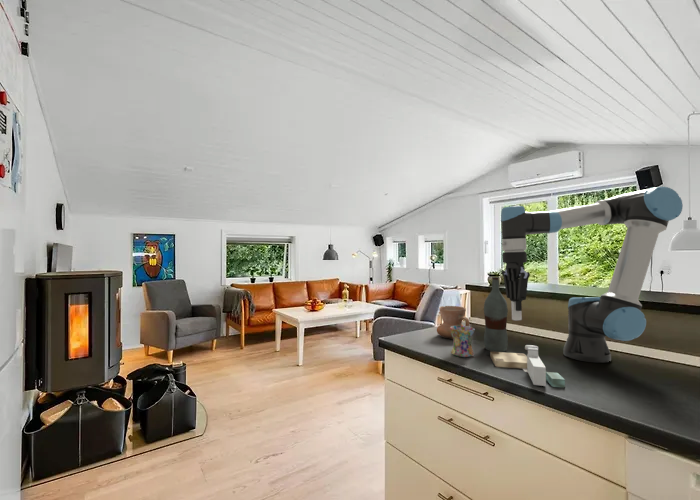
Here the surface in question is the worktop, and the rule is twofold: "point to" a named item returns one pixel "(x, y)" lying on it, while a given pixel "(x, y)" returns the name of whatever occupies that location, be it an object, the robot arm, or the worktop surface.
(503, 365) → the stool seat
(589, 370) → the worktop surface
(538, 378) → the hinged leg
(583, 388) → the worktop surface
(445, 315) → the ceramic jug
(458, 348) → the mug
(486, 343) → the bottle
